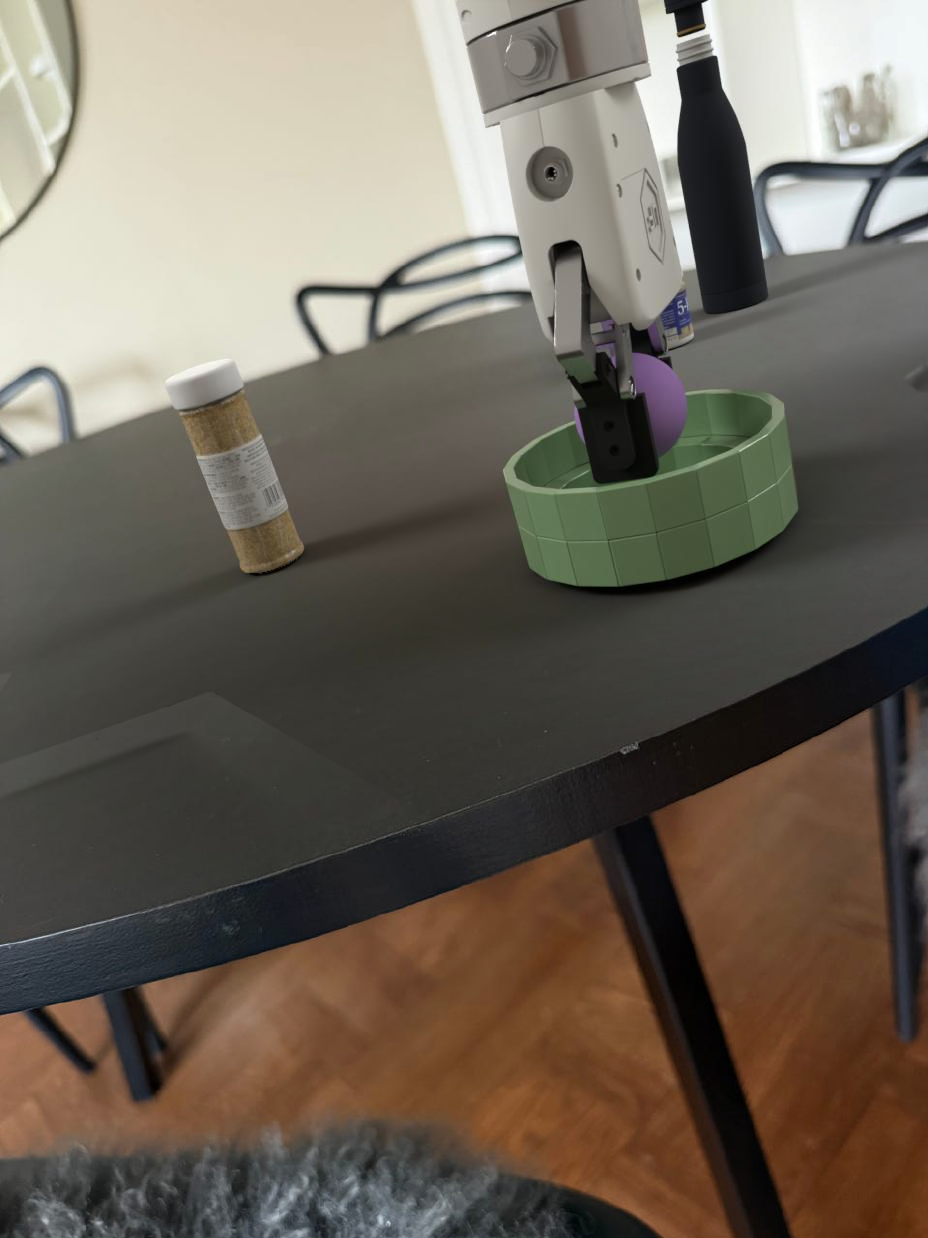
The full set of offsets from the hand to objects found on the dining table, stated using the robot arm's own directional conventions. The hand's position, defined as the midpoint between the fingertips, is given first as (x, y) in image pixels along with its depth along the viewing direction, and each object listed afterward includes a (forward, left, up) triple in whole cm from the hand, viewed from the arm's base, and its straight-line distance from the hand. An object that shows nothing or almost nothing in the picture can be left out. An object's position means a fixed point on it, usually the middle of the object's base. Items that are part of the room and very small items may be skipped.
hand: (640, 452), depth 51 cm
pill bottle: (-35, -30, -5) cm, 46 cm away
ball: (0, 0, +2) cm, 2 cm away
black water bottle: (-48, -32, -5) cm, 58 cm away
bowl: (0, 0, -5) cm, 5 cm away
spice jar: (+11, -25, -5) cm, 28 cm away
